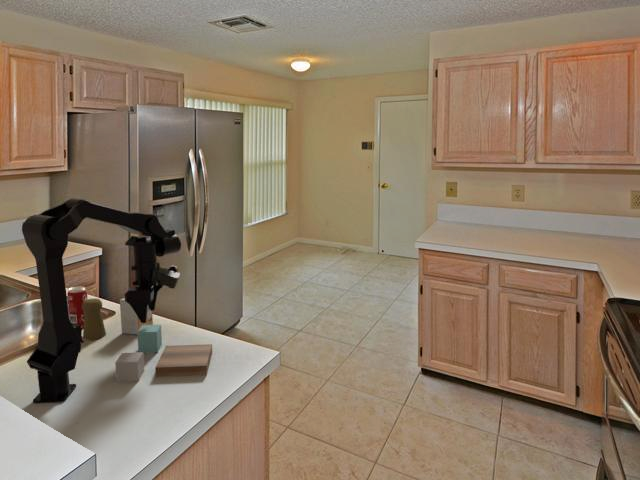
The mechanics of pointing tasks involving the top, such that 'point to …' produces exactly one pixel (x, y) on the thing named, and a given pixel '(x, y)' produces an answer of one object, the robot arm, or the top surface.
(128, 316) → the small box
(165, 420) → the top surface
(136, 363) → the grey block
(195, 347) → the walnut block
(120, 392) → the top surface
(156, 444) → the top surface
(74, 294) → the soda can
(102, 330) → the cork
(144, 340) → the teal block
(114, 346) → the top surface
